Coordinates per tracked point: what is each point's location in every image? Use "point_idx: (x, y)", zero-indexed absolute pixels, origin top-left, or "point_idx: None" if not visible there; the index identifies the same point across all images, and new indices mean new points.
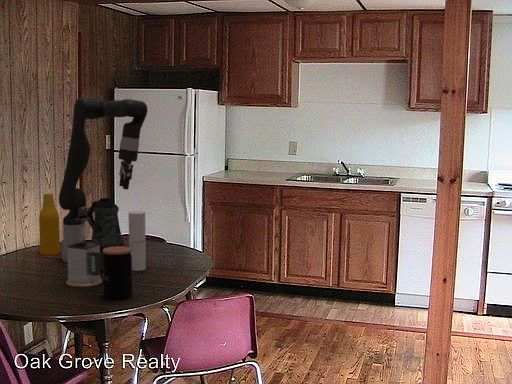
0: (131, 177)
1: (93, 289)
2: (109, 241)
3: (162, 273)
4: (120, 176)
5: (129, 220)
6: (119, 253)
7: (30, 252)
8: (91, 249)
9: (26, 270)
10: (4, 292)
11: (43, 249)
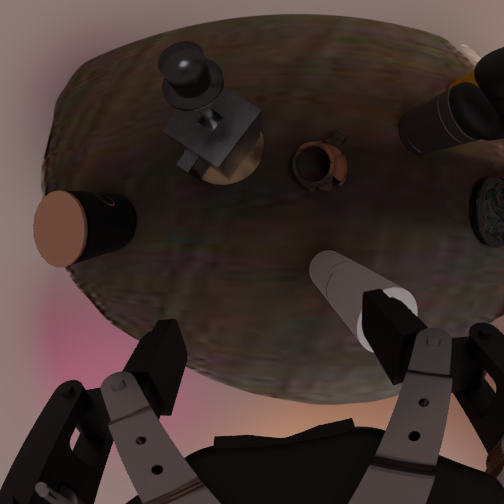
0: (87, 438)
1: (164, 169)
2: (484, 215)
3: (273, 322)
4: (414, 339)
5: (368, 283)
6: (35, 235)
7: (463, 74)
8: (185, 146)
9: (342, 43)
10: (184, 27)
11: (454, 83)
